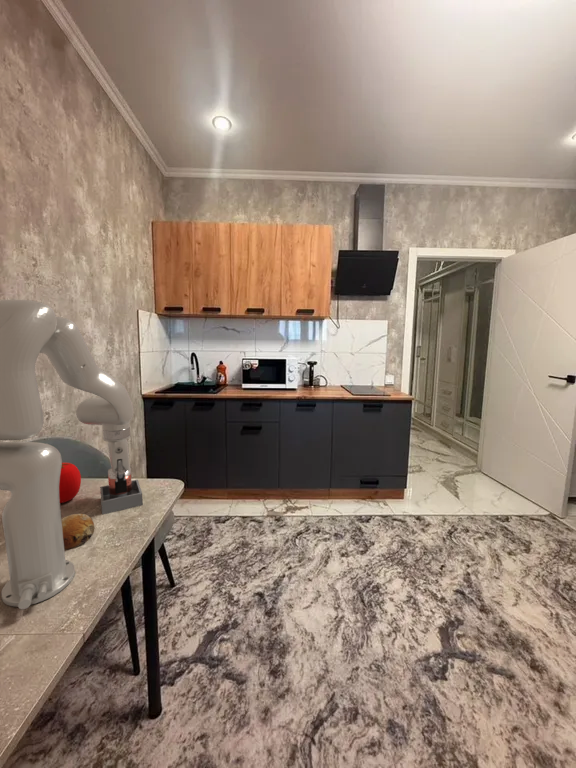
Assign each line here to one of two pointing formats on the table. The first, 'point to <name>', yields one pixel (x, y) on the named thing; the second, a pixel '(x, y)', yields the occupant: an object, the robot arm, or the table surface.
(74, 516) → the bread roll
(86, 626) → the table surface
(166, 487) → the table surface
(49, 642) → the table surface
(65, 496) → the tomato
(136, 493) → the crate
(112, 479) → the red drink can
